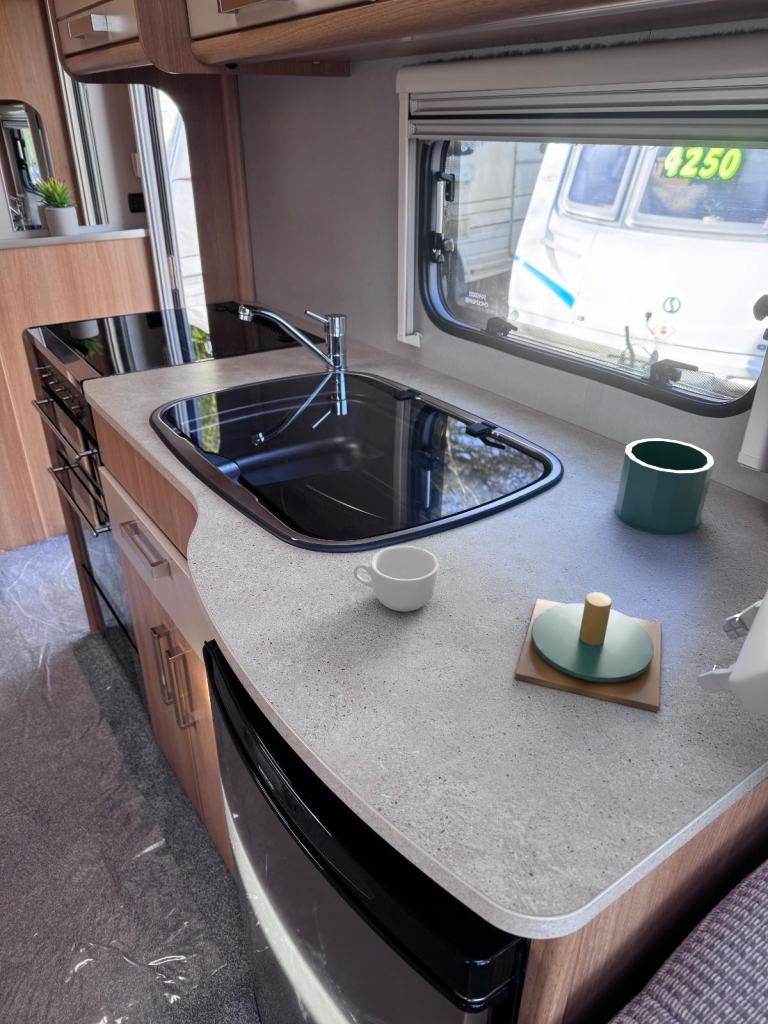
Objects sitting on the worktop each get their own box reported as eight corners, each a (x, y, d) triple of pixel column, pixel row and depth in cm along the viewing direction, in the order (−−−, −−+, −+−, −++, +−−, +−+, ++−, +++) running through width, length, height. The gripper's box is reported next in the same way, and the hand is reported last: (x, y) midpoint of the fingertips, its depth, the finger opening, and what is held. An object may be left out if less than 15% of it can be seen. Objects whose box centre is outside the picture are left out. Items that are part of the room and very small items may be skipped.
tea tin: (697, 503, 108) (712, 445, 104) (700, 540, 99) (715, 478, 94) (617, 491, 112) (627, 434, 107) (612, 526, 102) (623, 465, 97)
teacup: (440, 586, 89) (442, 549, 86) (431, 624, 82) (433, 585, 79) (361, 576, 90) (361, 539, 88) (346, 613, 84) (345, 574, 81)
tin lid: (653, 624, 81) (664, 578, 78) (650, 699, 70) (662, 649, 68) (540, 602, 85) (546, 557, 82) (521, 670, 74) (527, 621, 71)
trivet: (660, 628, 82) (661, 622, 81) (658, 712, 70) (659, 706, 70) (536, 603, 86) (536, 597, 85) (514, 679, 74) (515, 673, 74)
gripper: (876, 712, 52) (706, 749, 62) (897, 582, 67) (757, 628, 77) (825, 640, 52) (663, 688, 62) (856, 526, 67) (722, 579, 77)
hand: (715, 654), depth 69 cm, fingers open, 8 cm apart
